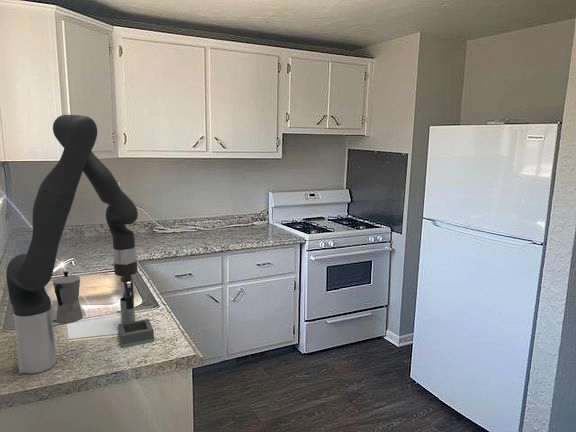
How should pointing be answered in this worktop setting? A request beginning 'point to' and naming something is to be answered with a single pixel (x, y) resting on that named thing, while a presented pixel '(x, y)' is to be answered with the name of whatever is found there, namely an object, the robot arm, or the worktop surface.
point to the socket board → (135, 333)
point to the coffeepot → (67, 298)
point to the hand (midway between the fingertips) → (128, 304)
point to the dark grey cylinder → (126, 311)
